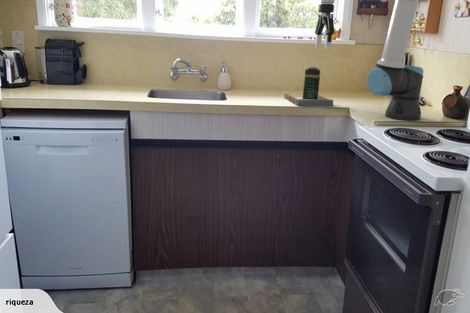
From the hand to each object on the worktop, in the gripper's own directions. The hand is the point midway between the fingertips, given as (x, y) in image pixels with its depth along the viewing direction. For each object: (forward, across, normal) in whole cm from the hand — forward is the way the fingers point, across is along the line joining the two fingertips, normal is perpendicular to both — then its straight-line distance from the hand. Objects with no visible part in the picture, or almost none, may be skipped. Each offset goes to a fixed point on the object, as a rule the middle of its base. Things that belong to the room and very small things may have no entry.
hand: (322, 48), depth 214 cm
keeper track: (+28, +7, +4) cm, 29 cm away
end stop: (+28, -6, +4) cm, 29 cm away
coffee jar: (+28, +2, +4) cm, 29 cm away
